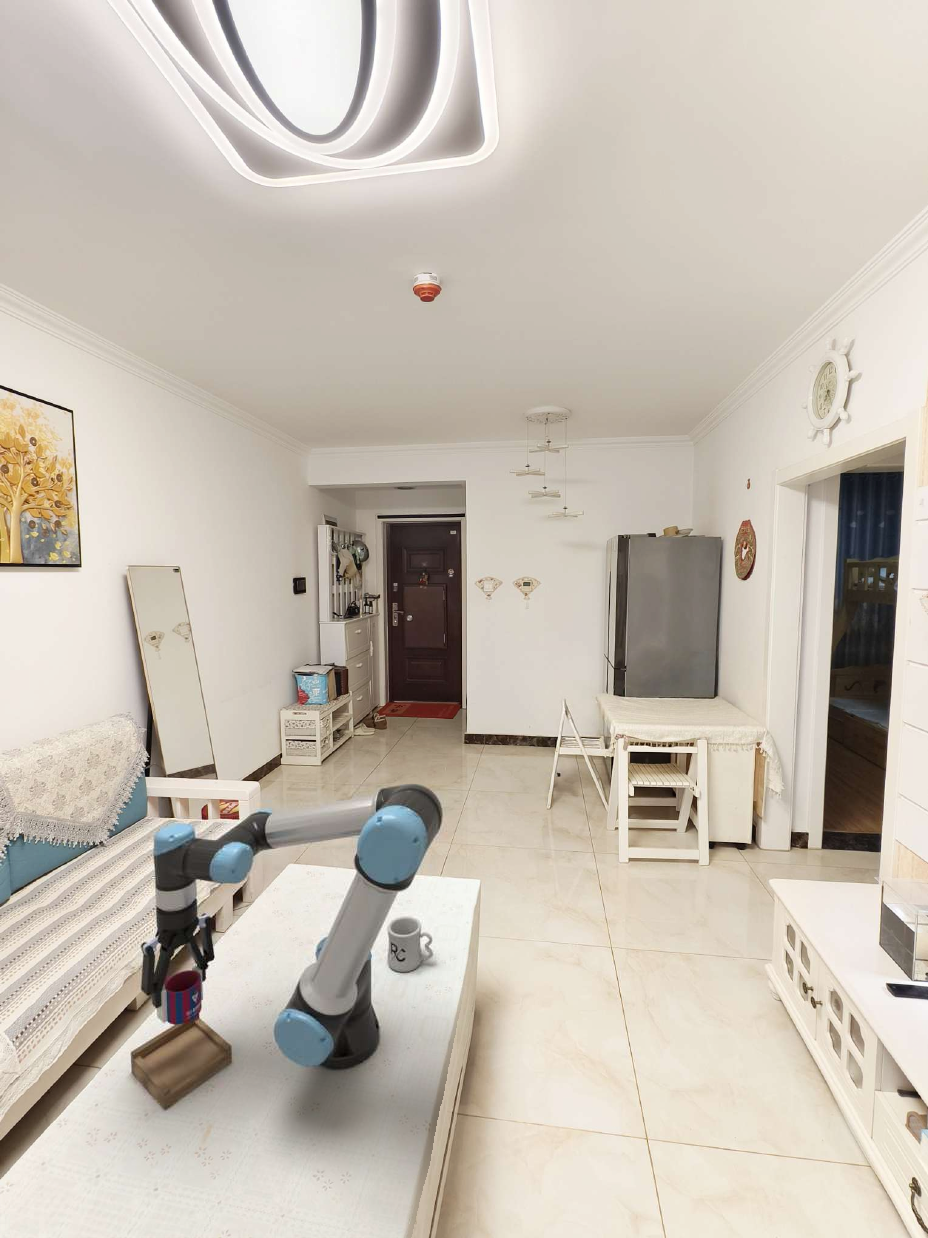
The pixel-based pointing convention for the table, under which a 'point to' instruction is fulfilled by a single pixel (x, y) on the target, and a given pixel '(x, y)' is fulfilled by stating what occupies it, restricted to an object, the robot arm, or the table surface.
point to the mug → (406, 944)
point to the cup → (183, 996)
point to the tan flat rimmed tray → (179, 1060)
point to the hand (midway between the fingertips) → (180, 1008)
